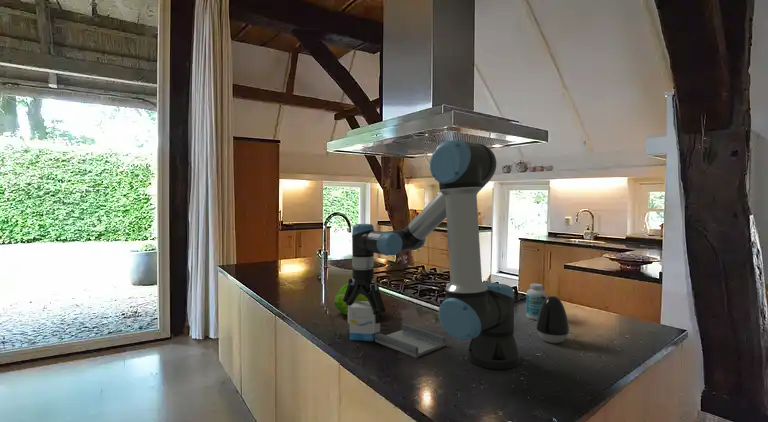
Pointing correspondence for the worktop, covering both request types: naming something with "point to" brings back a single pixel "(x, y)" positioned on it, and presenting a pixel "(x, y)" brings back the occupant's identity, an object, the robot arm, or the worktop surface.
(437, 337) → the rail board
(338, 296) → the lettuce
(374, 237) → the robot arm
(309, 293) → the worktop surface
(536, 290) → the pill bottle
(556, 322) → the black rounded dome
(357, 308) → the ink box
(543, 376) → the worktop surface
